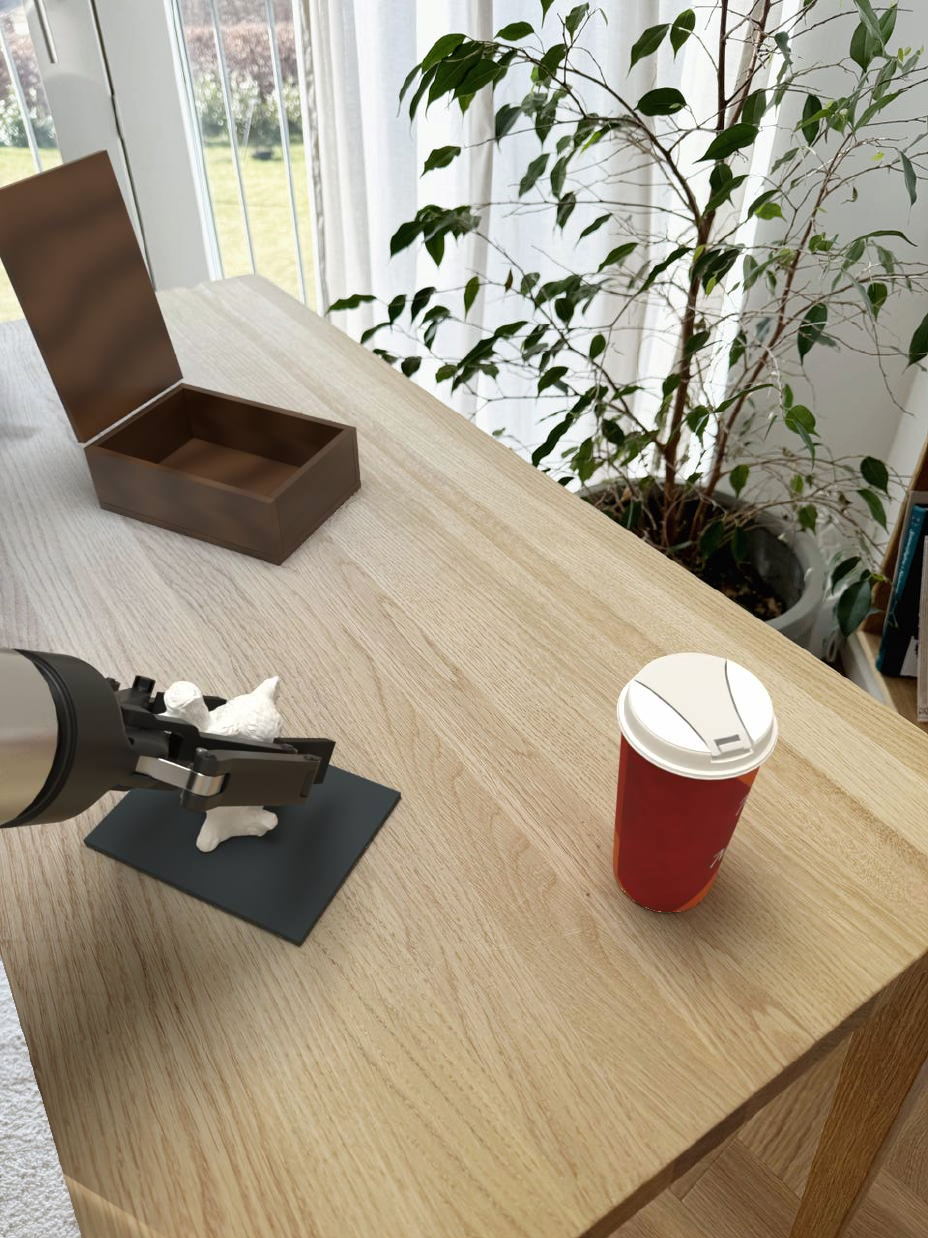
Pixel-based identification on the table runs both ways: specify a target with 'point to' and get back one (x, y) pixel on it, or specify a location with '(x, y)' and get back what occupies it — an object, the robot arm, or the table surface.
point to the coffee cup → (685, 773)
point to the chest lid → (86, 292)
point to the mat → (253, 850)
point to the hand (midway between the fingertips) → (268, 738)
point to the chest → (226, 470)
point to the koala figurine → (235, 719)
